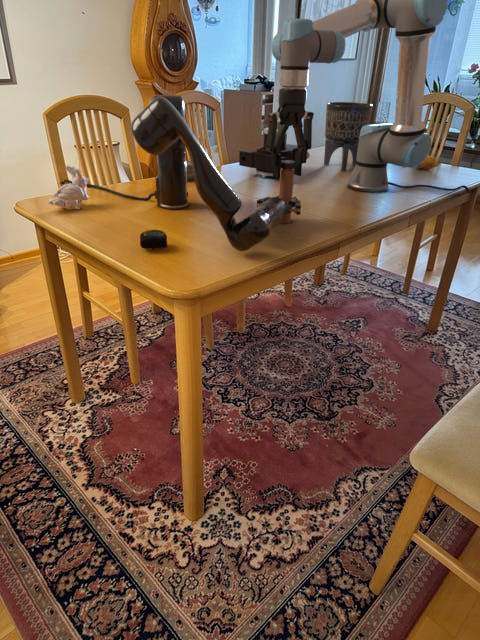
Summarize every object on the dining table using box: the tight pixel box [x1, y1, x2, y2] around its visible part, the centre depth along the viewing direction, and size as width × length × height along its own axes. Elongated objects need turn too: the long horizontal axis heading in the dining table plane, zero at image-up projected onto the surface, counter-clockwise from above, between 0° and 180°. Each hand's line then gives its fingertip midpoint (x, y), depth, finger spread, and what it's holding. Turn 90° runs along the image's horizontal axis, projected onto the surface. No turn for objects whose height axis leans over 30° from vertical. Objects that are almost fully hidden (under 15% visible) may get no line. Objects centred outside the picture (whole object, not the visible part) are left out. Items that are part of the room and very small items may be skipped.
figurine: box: [47, 165, 90, 210], centre depth 144 cm, size 8×15×13 cm, turn 145°
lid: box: [281, 160, 296, 169], centre depth 131 cm, size 5×5×2 cm
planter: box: [323, 101, 374, 172], centre depth 204 cm, size 20×20×26 cm
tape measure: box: [139, 229, 168, 250], centre depth 117 cm, size 7×7×4 cm
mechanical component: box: [238, 120, 311, 178], centre depth 191 cm, size 22×21×30 cm
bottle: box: [278, 168, 295, 224], centre depth 135 cm, size 4×4×17 cm
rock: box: [186, 160, 195, 182], centre depth 182 cm, size 13×9×6 cm, turn 131°
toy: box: [417, 154, 440, 170], centre depth 211 cm, size 11×6×15 cm
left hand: (287, 199), depth 139 cm, fingers closed on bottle, 4 cm apart
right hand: (287, 176), depth 133 cm, fingers open, 7 cm apart
